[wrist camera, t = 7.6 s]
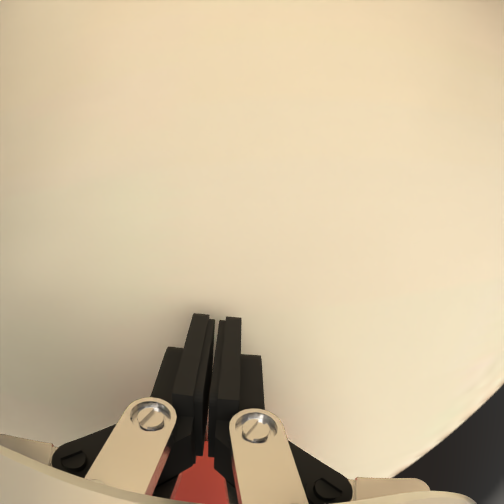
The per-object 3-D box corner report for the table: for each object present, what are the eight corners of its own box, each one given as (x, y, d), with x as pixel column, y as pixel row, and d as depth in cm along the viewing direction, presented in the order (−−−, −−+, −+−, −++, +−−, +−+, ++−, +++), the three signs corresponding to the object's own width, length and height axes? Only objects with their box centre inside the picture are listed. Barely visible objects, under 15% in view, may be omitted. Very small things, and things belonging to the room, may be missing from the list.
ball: (162, 527, 12) (167, 443, 16) (263, 534, 13) (263, 449, 17) (139, 542, 8) (147, 425, 12) (281, 552, 8) (280, 434, 12)
